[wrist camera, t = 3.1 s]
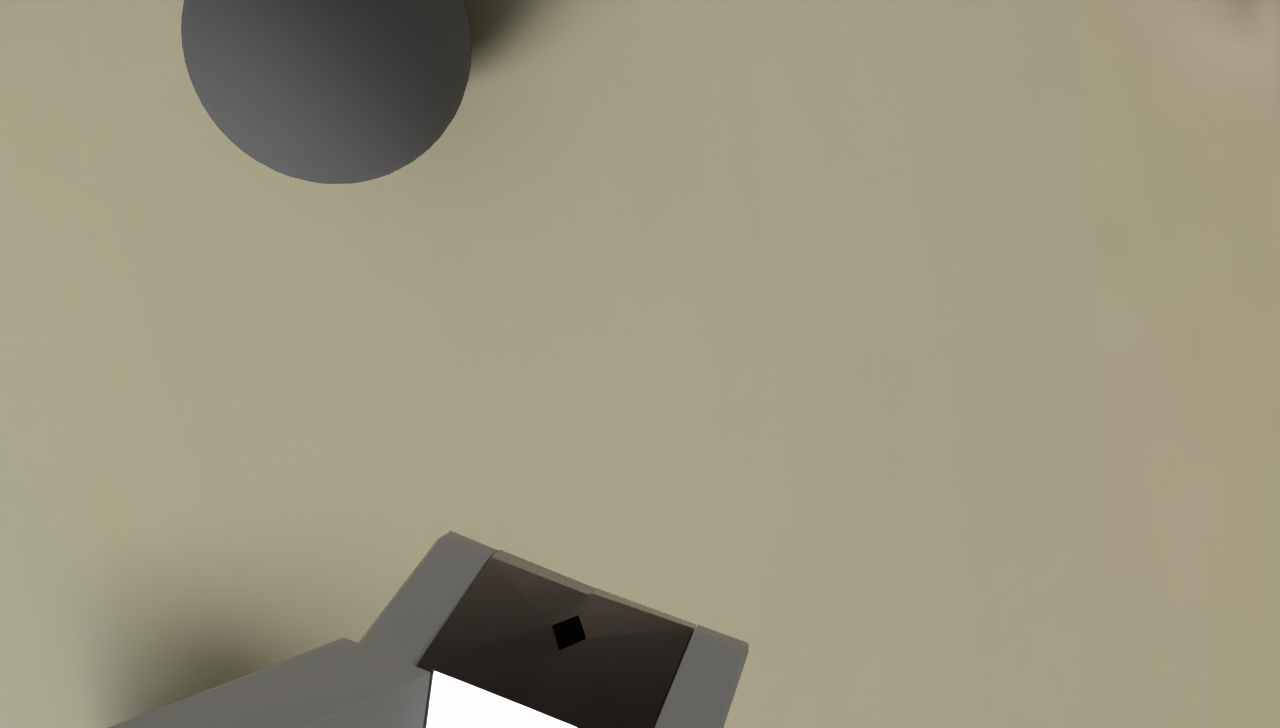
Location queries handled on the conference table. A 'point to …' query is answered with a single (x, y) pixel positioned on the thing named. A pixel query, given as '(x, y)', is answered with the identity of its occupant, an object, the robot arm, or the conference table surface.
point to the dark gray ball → (329, 79)
